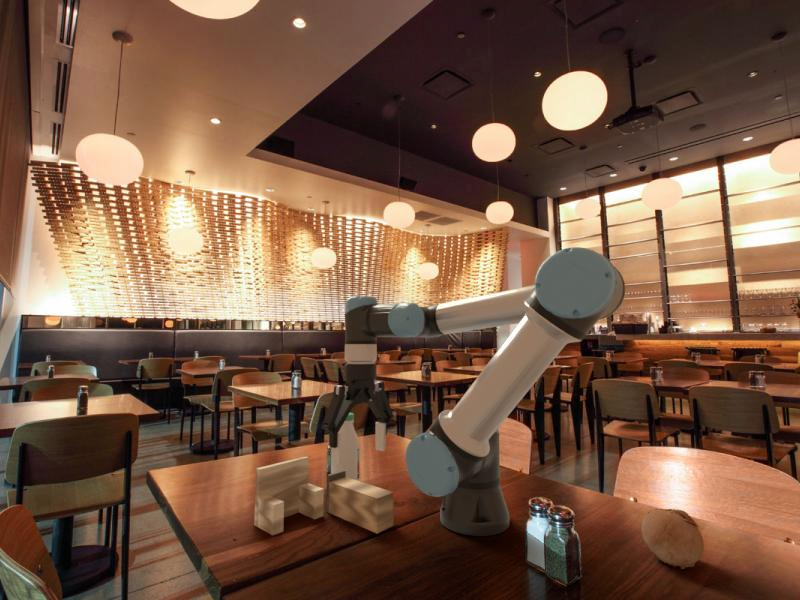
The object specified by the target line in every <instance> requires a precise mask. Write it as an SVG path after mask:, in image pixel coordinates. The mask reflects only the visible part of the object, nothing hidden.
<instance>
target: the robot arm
mask: <svg viewBox="0 0 800 600" xmlns="http://www.w3.org/2000/svg"><path fill="white" fill-rule="evenodd" d="M625 296H626V283H625V279H624V278H623V275H622V273H621V272H620V271H619V270H618V268H617V267H615V266H614V265H613V263H612V262H611V260H609V259H608V258H607V257H605V256H604V255H603V254H601V253H599V252H596V251H595V250H593V249H590V248H586V247H577V246H576V247H575V246H574V247H568V248H564V249H560V250H557V251H555V252H554V253H552V254H551V255H549V256H547V258H546V259H544V261H543V262H542V263H541V265H540V266H539V268H538V269H537V273H536V275H535V279H534V284H531V285H527V286H522V287H517V288H512V289H507V290H503V291H497V292H492V293H488V294H483V295H478V296H473V297H468V298H463V299H457V300H454V301H453V300H452V301H448V302H444V303H439V304H434V305H428V306H421V305H420V306H419V304H418V303H414V302H404V301H402V302H399V303H398V302H397V303H386V304H385V303H383V304H378V299H377V298H376V297H374V296H363V295H362V296H359V295H358V296H350V297H348V298H347V300H346V302H345V310H344V327H345V329H344V330H345V331H344V338H345V339H344V361H345V362H346V363H345V365H344V367H343V368H344V371H343V372H344V373H343V374H344V375H343V376H344V379H345V386H344V385H338V384H335V385H334V388H333V395H332V398H331V400H330V403H329V406H328V408H327V411H326V414H325V416H324V418H323V421H322V424H321V429H322V431H327V432H328V435H329V436H328V439H329V440H328V446H329V448H331V449H330V462H334V463H338V464H340V463H342V432H339V430H340V428H341V427H342V425H343V423H344V422H345V420H346V418H347V416H348V415H349V413H351V411H352V410H353V408H354V407H355V406H356V405H361V404H363V403H364V404H367V405H368V407H369V408H370V410H371V412H372V413H373V414H374V416H375V418H376V419H377V421H375V429H374V430H375V431H374V433H375V439H374V440H375V441H374V442H375V443H374V444H375V450H376V451H379V452H386V443H387V442H386V436H387V434H388V424H389V423H391V420H392V419H394V413H393V410H392V407H391V405H390V401H389V399H388V396H387V393H386V390H385V389H386V387H385V382H384V381H378V380H376V379H377V371H378V370H377V367H378V366H377V363H375V362H376V361H377V359H378V358H377V357H378V355H377V354H378V350H377V349H378V348H377V346H378V345H377V344H378V343H377V342H378V341H377V340H378V338H406V339H407V338H425V339H435V338H439V337H441V336H443V335H451V334H457V333H463V332H469V331H476V330H483V329H489V328H496V327H503V326H509V325H510V326H511V325H516V324H517V325H516V326H515V327H514V329H513V330H512V331H511V333H510V334H509V336H507V338H506V339H505V340H504V342H503V343H502V344H501V345H500V347H499V348H498V350H496V352H495V353H494V355H493V356H492V357H491V359H490V360H489V361H488V363H487V364H486V366H484V368H483V370H481V372H480V373H479V375H478V376H477V377H476V379H475V380H474V381H473V382H472V384H471V385H470V386H469V388H468V389H467V390H466V391H465V393H464V394H463V396H462V397H461V399H460V400H459V401H458V402H457V403H456V405H455V406H454V408H452V409H444V410H443V411H441V412H440V413H439V414H438V416H437V417H436V418H435V419H434V421H433V423H432V424H431V425H430V426H429V427H428V429H427V430H426V431H425V432H421V433H419V434H417V435H416V436H414V437H413V438H411V440H410V442H409V443H408V445H407V447H406V449H405V456H404V457H405V458H404V460H405V463H406V471H407V474H408V476H409V478H410V480H411V481H412V483H413V484H414V486H415V487H416V488H417V489H418V490H419V491H421V492H422V493H424V494H425V495H427V496H431V497H433V498H434V497H435V498H440V497H443V498H442V501H441V505H440V507H439V508H440V509H439V510H440V512H439V519H440V523H441V524H442V526H443V527H445V528H446V529H448V530H450V531H451V532H454V533H457V534H461V535H466V536H473V537H486V536H487V537H488V536H489V537H490V536H495V535H499V534H501V533H503V532H505V531H507V530H508V529H509V527H510V513H509V509H508V506H507V504H506V499H505V497H504V494H503V492H502V490H503V489H502V488H501V474H500V473H501V469H500V468H501V467H500V466H501V464H500V461H501V460H500V431H499V428H500V426H501V425H502V424H503V422H505V420H506V419H507V418H508V417H509V415H510V414H511V413H512V412H513V410H514V409H515V408H516V407H517V406H518V404H519V403H520V401H522V400H523V398H524V397H525V395H526V394H527V393H528V392H529V391H530V390H531V388H532V387H533V386H534V385H535V383H536V382H537V381H538V380H539V379H540V378H541V376H542V375H543V374H544V372H545V371H546V370H547V368H548V367H549V366H550V365H551V363H553V361H554V360H555V359H556V358H557V356H558V355H559V354H560V353H561V351H562V350H563V349H564V348H565V347H566V345H567V344H571V343H579V342H582V341H583V339H584V338H585V337H586V335H588V334H589V332H591V329H593V327H594V326H595V325H596V324H597V323H598V322H599V321H601V320H603V319H607V318H609V317H611V316H612V315H613V314H614V313H616V311H618V310H619V308H620V307H621V305H622V304H623V301H624V299H625ZM375 380H376V381H375Z"/></svg>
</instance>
